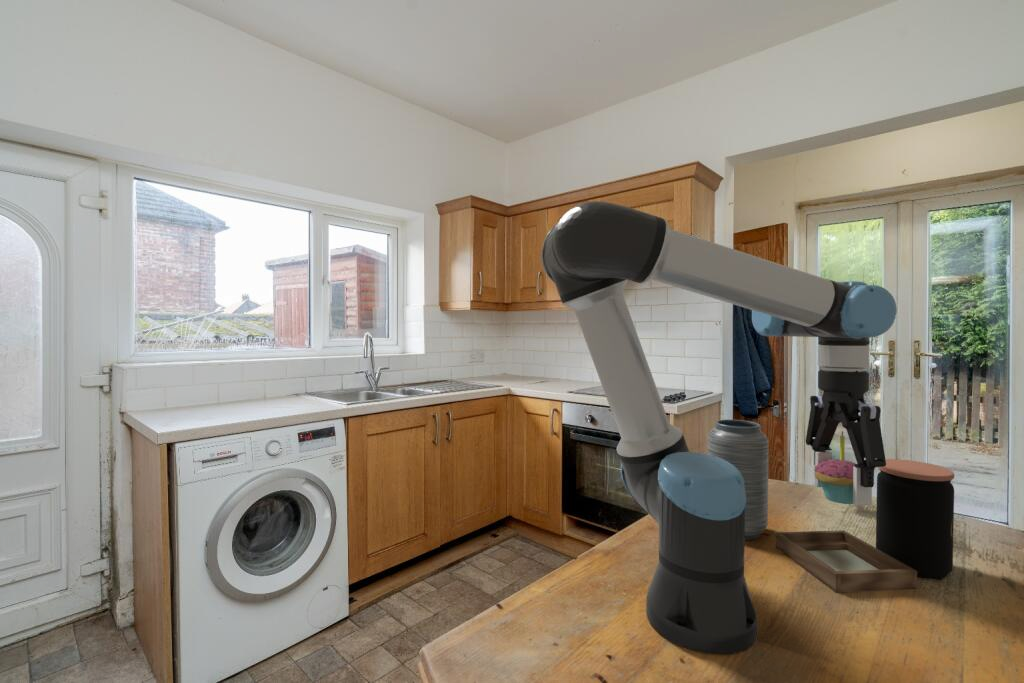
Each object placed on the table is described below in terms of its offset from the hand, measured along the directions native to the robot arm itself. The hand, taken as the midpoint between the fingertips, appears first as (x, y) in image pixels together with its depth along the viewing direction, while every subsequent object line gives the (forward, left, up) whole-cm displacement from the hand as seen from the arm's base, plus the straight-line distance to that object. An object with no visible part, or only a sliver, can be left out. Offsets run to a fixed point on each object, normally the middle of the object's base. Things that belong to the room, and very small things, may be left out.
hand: (841, 494), depth 86 cm
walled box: (0, 0, -13) cm, 13 cm away
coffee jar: (+13, -1, -13) cm, 19 cm away
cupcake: (0, 0, -1) cm, 1 cm away
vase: (-11, +16, -13) cm, 23 cm away
